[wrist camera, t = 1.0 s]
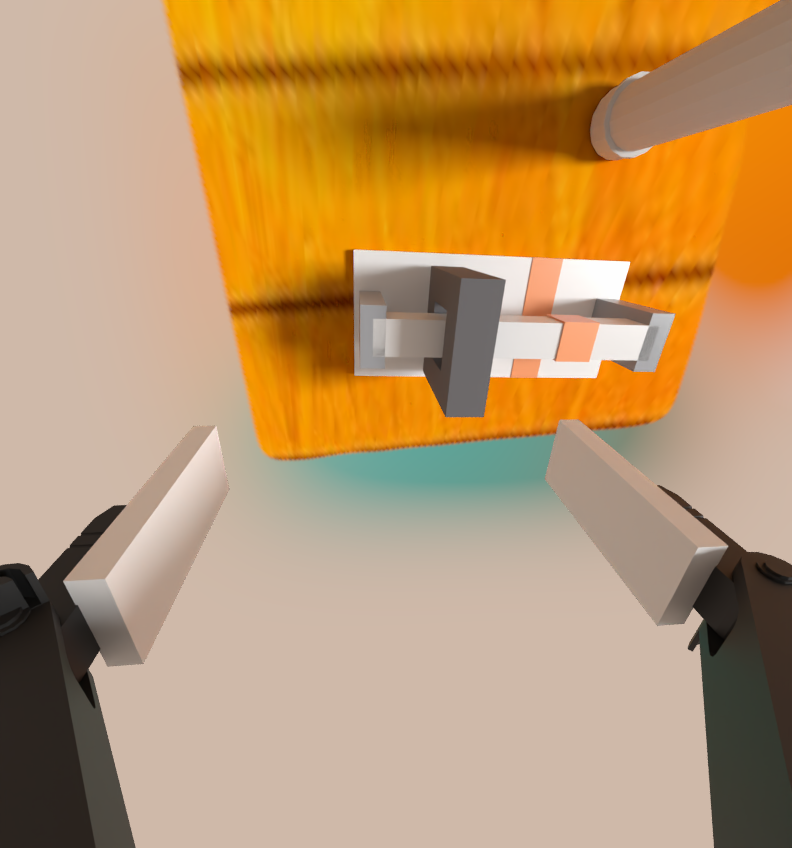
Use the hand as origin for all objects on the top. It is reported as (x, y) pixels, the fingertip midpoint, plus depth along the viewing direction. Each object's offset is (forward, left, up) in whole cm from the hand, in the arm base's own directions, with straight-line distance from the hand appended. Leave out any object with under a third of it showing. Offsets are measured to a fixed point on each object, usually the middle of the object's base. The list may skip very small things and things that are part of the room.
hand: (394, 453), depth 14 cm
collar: (0, +7, -24) cm, 25 cm away
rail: (0, +12, -26) cm, 29 cm away
